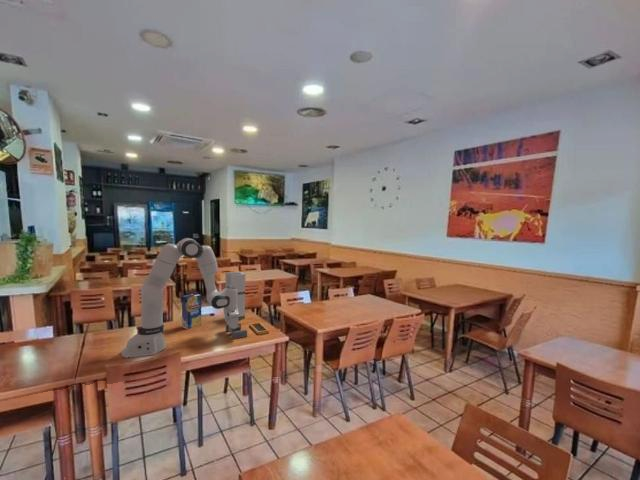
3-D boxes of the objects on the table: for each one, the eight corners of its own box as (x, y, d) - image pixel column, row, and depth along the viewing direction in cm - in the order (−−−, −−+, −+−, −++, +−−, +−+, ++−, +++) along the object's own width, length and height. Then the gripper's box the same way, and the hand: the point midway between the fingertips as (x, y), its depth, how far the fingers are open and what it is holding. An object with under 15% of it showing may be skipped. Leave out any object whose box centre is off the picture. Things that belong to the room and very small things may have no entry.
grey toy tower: (238, 314, 250) (239, 271, 247) (244, 318, 241) (245, 273, 239) (225, 317, 242) (225, 273, 240) (230, 321, 234) (231, 275, 232)
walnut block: (233, 335, 207) (233, 328, 206) (231, 332, 211) (231, 325, 211) (240, 334, 209) (240, 327, 209) (238, 331, 214) (238, 324, 213)
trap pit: (257, 335, 209) (257, 332, 209) (249, 326, 224) (249, 323, 224) (269, 333, 213) (269, 330, 213) (259, 324, 228) (259, 322, 228)
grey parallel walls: (231, 338, 201) (232, 332, 201) (225, 330, 215) (225, 325, 214) (247, 336, 206) (247, 330, 206) (240, 328, 220) (240, 322, 220)
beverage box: (201, 324, 225) (201, 294, 223) (187, 329, 216) (187, 297, 214) (195, 322, 229) (195, 293, 227) (181, 327, 219) (181, 296, 218)
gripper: (222, 307, 215) (222, 326, 216) (230, 315, 197) (230, 337, 198) (231, 306, 218) (231, 325, 219) (239, 314, 200) (239, 335, 201)
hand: (230, 331), depth 208 cm, fingers closed, pressing on walnut block
